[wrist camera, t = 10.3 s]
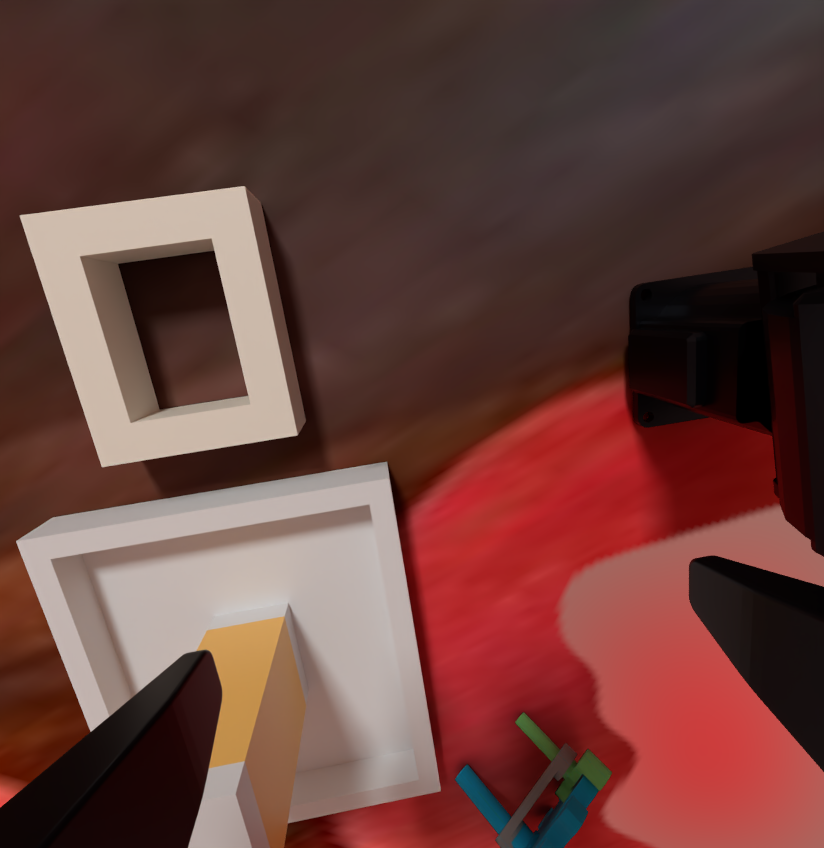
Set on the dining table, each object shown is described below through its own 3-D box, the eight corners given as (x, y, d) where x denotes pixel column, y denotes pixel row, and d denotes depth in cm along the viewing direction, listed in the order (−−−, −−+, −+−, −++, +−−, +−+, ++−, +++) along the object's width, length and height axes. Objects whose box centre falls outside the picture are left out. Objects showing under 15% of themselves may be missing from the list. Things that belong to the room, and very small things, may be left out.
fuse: (288, 602, 22) (235, 793, 13) (308, 688, 23) (273, 915, 14) (214, 616, 22) (110, 819, 13) (238, 702, 23) (159, 940, 14)
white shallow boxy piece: (261, 203, 18) (244, 186, 16) (306, 421, 20) (297, 435, 18) (67, 229, 18) (19, 215, 15) (134, 448, 20) (101, 467, 18)
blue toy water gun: (515, 907, 27) (454, 1050, 18) (442, 810, 30) (360, 893, 21) (628, 751, 27) (618, 822, 18) (542, 671, 30) (500, 700, 21)
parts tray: (387, 461, 21) (389, 478, 19) (435, 751, 25) (441, 791, 23) (52, 517, 20) (16, 541, 18) (158, 807, 25) (138, 854, 22)
